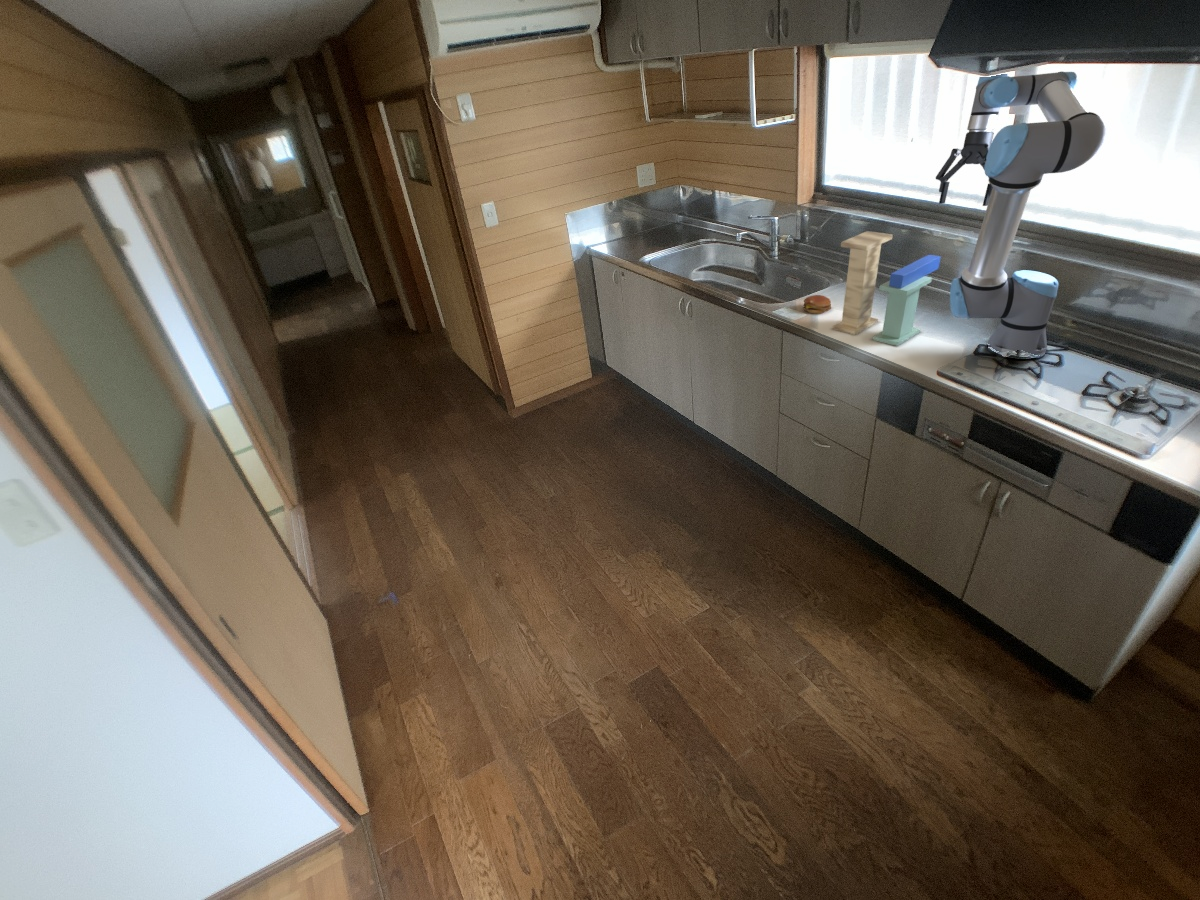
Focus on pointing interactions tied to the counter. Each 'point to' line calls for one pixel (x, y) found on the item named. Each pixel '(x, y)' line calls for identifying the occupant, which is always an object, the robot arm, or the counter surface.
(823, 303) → the burger
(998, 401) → the counter surface
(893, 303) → the low pedestal
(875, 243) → the tall pedestal
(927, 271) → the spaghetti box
